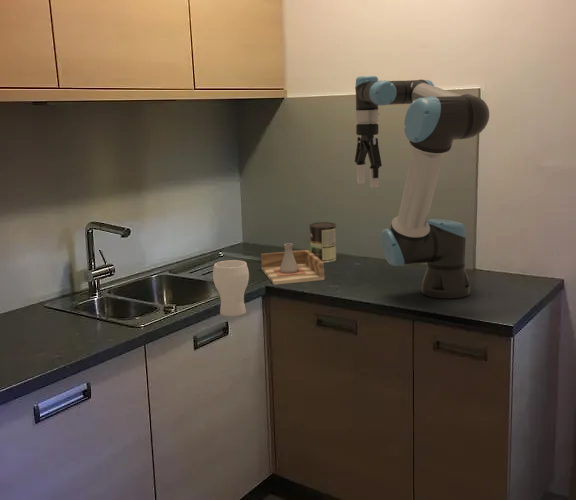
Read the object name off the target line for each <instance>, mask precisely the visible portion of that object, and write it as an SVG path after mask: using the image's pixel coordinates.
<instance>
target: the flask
mask: <svg viewBox="0 0 576 500" xmlns="http://www.w3.org/2000/svg"><path fill="white" fill-rule="evenodd" d="M293 245H294V243H290V242H289V243H284V244H283V246H284V251H283V252H284V257H283V260H282V264H281V267H280V270H279V271H280V272H281V273H294V272H297V271H299V268H298V266H297V263H296V261H295V258H294V255H293V251H294V250H293Z"/></svg>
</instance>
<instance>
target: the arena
mask: <svg viewBox="0 0 576 500" xmlns="http://www.w3.org/2000/svg"><path fill="white" fill-rule="evenodd" d="M292 251H293V255H294V258H295V261H296V263H297V266H298V268H299V271H297V272H294V273H281V272H280V271H279V270H280V267H281V264H282V260H283V257H284V252H285V251H278V252H266V253H260V255H261V257H260V258H261V259H260V261H261V271H262V272H263V273H264V274H265V276H266V277H267V278H268V279H269V281H270V282H271V283H272V285H275V286H276V285H284V284H286V285H288V284H293V283H294V284H296V283H305V282H317V281H324V280H325V263H324V262H323V261H321V260H320V259H319V258H318V257H316V256H315V255H314V254H313V253H311V252H310V249H301V250H292Z"/></svg>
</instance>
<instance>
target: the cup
mask: <svg viewBox="0 0 576 500" xmlns="http://www.w3.org/2000/svg"><path fill="white" fill-rule="evenodd" d="M249 271H250V270H249V267H248V264H247V262H246V261H244V260H236V259H231V260H222V261H218V262H216V263H214V265H213V269H212V277H213V278H212V280H213V283H214V286H215V288H216V290H217V292H218V294H219V297H220V307H219V308H220V309H219V314H220V315H221V316H224V317H237V316H242V315H244V314H246V313H247V310H246V305H245V299H244V298H245V291H246V289H247V287H248V284H249V280H250V272H249Z"/></svg>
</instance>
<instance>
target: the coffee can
mask: <svg viewBox="0 0 576 500" xmlns="http://www.w3.org/2000/svg"><path fill="white" fill-rule="evenodd" d="M308 227H309V243H310V247H309V248H310V249H309V251H310V252H311V253H313V254H314V255H315V256H316V257H318V258H319V259H320V260H321V261H323V262H324V264H327V263H333V262H335V261H337V242H336V241H337V240H336V239H337V236H336V235H337V233H336V232H337V230H336V227H337V224H336V223H334V222H327V221H326V222H325V221H323V222H313V223H310V224H309V225H308Z"/></svg>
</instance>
